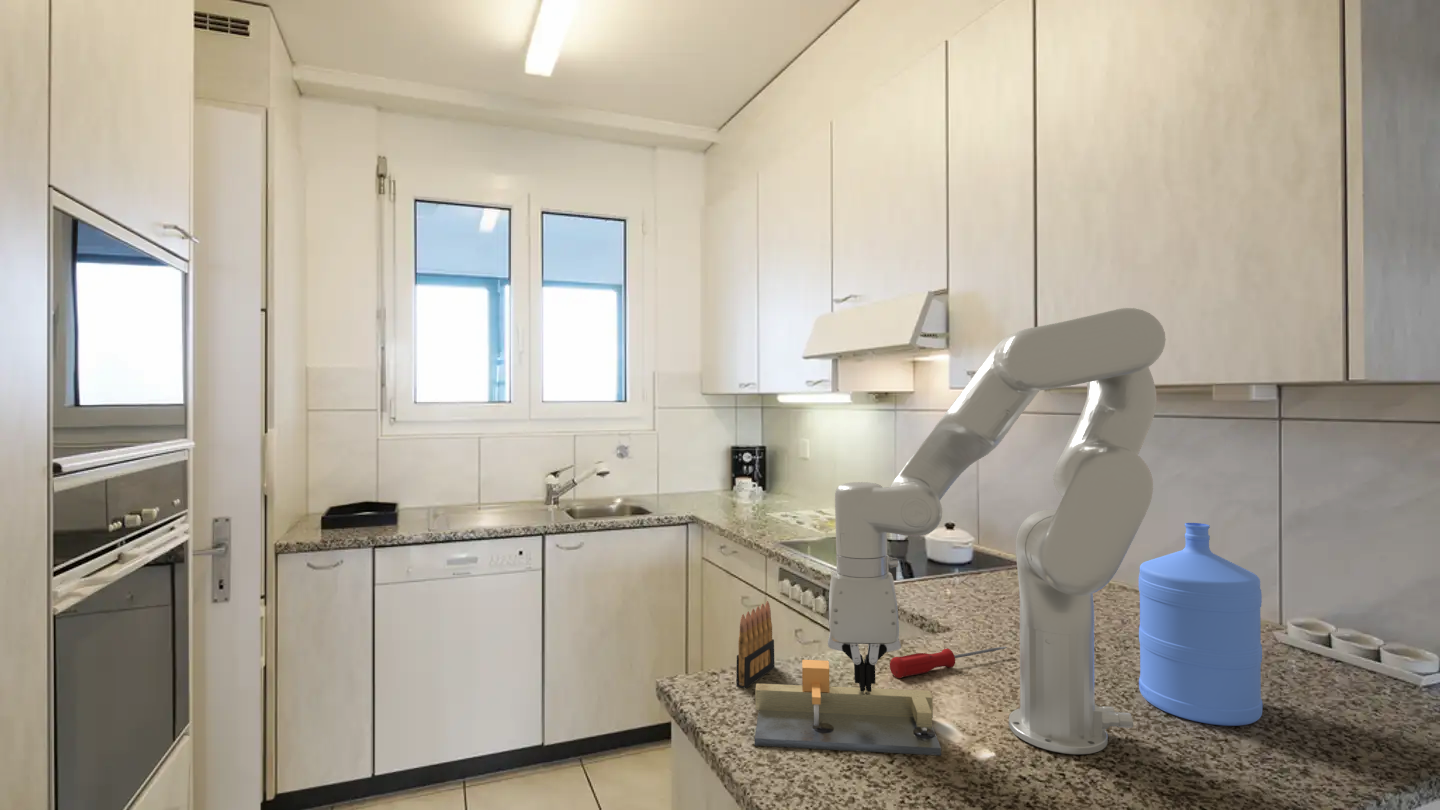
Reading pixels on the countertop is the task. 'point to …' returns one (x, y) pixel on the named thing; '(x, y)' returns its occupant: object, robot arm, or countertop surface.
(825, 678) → the sliding head
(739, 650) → the ammunition clip
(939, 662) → the screwdriver
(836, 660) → the countertop surface
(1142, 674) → the water jug
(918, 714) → the drilled steel plate with beam
